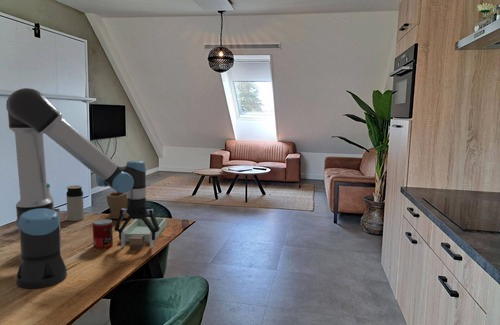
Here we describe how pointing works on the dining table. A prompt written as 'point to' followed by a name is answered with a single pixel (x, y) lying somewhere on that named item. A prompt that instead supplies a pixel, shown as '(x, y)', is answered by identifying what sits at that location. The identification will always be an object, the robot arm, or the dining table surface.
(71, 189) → the travel mug
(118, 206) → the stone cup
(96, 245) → the canned food
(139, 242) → the walnut cube
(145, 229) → the tray
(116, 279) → the dining table surface
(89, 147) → the robot arm
